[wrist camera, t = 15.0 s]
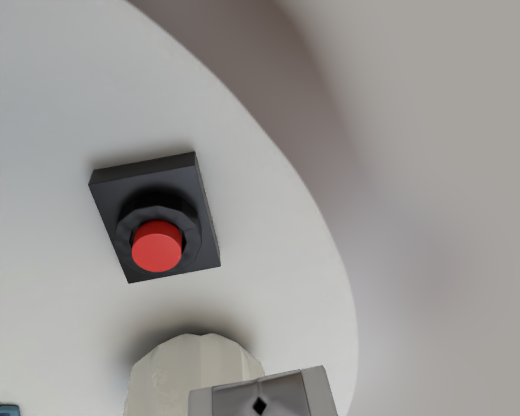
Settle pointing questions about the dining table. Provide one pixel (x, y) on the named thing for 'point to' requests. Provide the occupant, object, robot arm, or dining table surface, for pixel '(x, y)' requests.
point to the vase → (185, 373)
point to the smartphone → (9, 411)
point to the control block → (157, 210)
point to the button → (157, 246)
